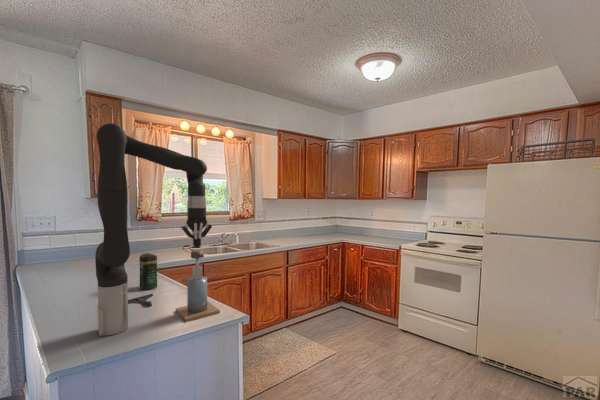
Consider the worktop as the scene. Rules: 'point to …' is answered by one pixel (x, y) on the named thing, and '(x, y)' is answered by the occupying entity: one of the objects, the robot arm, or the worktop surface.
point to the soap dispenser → (197, 298)
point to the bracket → (143, 301)
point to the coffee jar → (148, 271)
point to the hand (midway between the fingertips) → (197, 247)
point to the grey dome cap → (197, 256)
